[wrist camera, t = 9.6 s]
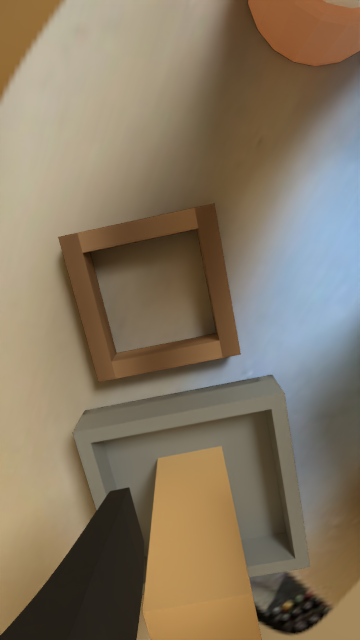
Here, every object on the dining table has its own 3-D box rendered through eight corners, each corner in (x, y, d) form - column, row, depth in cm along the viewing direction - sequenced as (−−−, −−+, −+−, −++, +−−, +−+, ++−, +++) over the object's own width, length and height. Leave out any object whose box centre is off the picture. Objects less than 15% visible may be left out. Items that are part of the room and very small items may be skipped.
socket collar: (211, 206, 18) (214, 203, 17) (236, 346, 20) (240, 354, 19) (67, 237, 19) (58, 237, 17) (104, 372, 20) (98, 382, 19)
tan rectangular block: (221, 446, 21) (251, 593, 12) (233, 500, 22) (269, 675, 13) (157, 458, 21) (142, 612, 12) (171, 512, 22) (166, 691, 13)
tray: (271, 374, 21) (284, 392, 18) (296, 532, 23) (310, 567, 21) (84, 410, 21) (72, 432, 19) (129, 561, 24) (123, 598, 21)
